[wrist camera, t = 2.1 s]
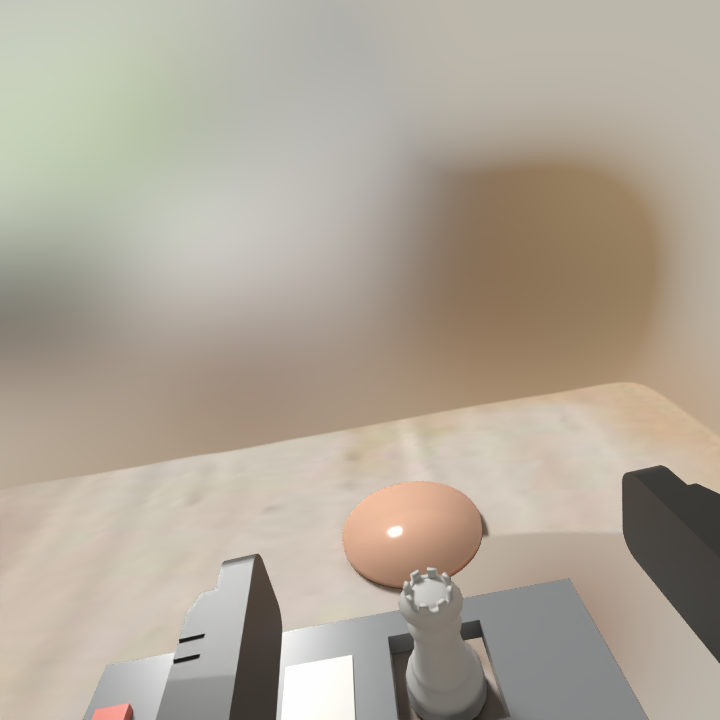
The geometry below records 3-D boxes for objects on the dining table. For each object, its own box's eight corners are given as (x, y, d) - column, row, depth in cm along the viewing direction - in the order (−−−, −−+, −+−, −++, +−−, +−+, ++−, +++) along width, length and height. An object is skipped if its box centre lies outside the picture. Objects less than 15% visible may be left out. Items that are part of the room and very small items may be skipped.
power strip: (42, 860, 24) (22, 837, 24) (115, 680, 33) (102, 658, 32) (654, 750, 24) (655, 722, 23) (570, 595, 32) (569, 571, 31)
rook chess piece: (395, 715, 27) (368, 611, 24) (424, 643, 31) (404, 545, 28) (475, 748, 25) (457, 639, 22) (497, 667, 29) (484, 563, 26)
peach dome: (417, 616, 33) (415, 609, 33) (317, 542, 41) (315, 536, 41) (510, 519, 39) (510, 513, 39) (407, 472, 47) (406, 466, 47)
